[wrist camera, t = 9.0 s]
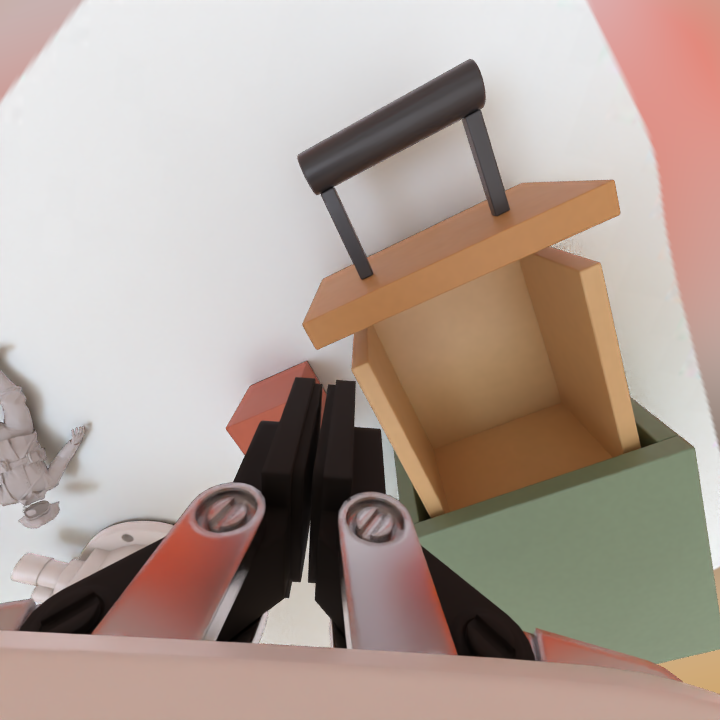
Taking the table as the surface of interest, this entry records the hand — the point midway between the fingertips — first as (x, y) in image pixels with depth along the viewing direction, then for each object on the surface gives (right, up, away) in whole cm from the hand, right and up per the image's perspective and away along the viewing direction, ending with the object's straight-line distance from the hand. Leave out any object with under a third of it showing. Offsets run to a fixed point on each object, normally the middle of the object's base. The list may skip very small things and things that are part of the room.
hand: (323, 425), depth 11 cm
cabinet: (+12, -6, +17) cm, 22 cm away
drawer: (+6, +5, +11) cm, 14 cm away
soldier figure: (-22, -3, +16) cm, 28 cm away
